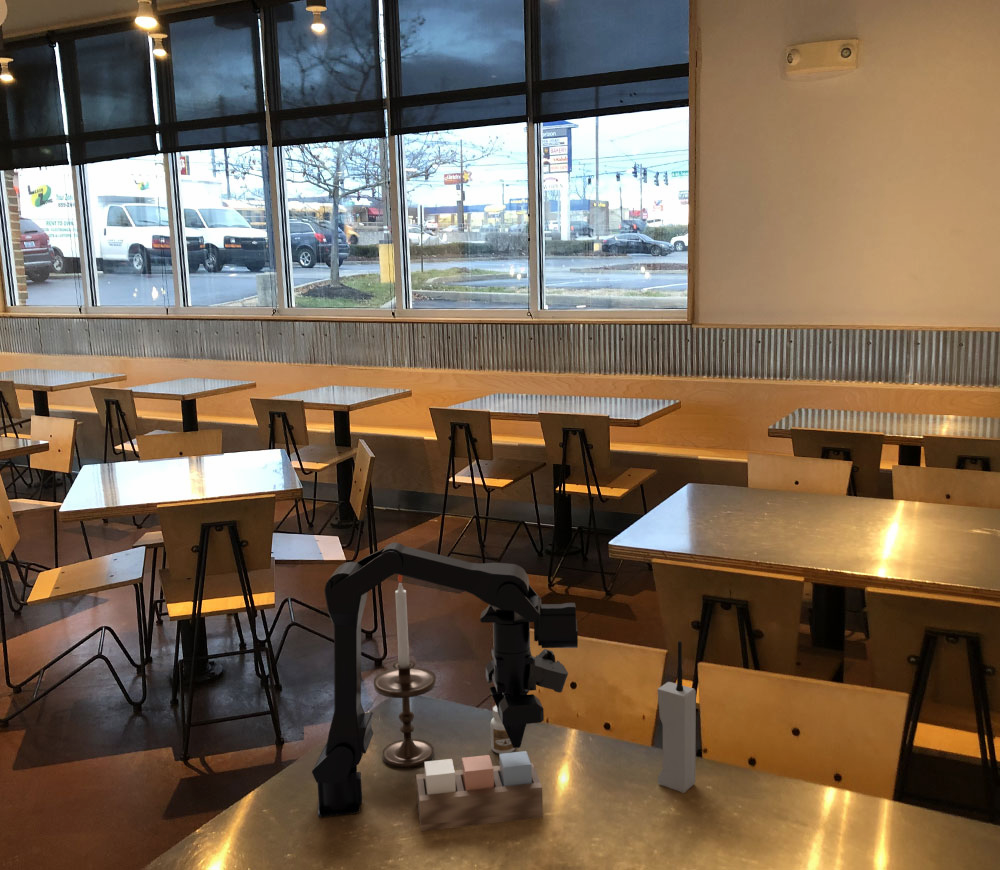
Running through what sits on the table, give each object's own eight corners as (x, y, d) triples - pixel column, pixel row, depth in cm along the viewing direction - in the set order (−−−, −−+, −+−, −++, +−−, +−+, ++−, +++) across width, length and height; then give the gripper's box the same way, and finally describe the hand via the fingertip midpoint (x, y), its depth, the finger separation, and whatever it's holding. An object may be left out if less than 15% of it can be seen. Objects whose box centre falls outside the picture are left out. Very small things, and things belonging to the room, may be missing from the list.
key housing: (421, 831, 143) (419, 800, 143) (417, 803, 151) (416, 774, 150) (542, 817, 146) (542, 787, 145) (533, 790, 154) (532, 762, 153)
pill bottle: (494, 756, 166) (493, 715, 164) (488, 745, 170) (487, 704, 169) (518, 752, 167) (517, 711, 166) (511, 741, 171) (510, 701, 170)
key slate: (504, 791, 146) (503, 767, 146) (499, 777, 151) (499, 753, 150) (531, 788, 147) (531, 764, 147) (526, 774, 151) (526, 751, 151)
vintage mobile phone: (668, 775, 158) (668, 633, 154) (695, 784, 154) (696, 639, 151) (657, 784, 155) (657, 640, 151) (684, 794, 152) (684, 647, 148)
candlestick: (449, 759, 165) (442, 567, 159) (393, 777, 159) (383, 579, 154) (421, 735, 174) (413, 553, 169) (367, 751, 169) (357, 563, 163)
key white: (427, 799, 145) (426, 775, 144) (425, 785, 149) (424, 761, 148) (455, 796, 145) (455, 772, 145) (452, 782, 150) (451, 758, 149)
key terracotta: (466, 795, 146) (465, 771, 145) (462, 781, 150) (461, 757, 149) (494, 792, 146) (493, 768, 146) (490, 778, 151) (489, 754, 150)
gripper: (576, 666, 138) (578, 765, 140) (550, 622, 156) (552, 710, 158) (501, 672, 136) (504, 773, 138) (483, 627, 154) (486, 716, 157)
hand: (514, 741), depth 148 cm, fingers open, 4 cm apart
